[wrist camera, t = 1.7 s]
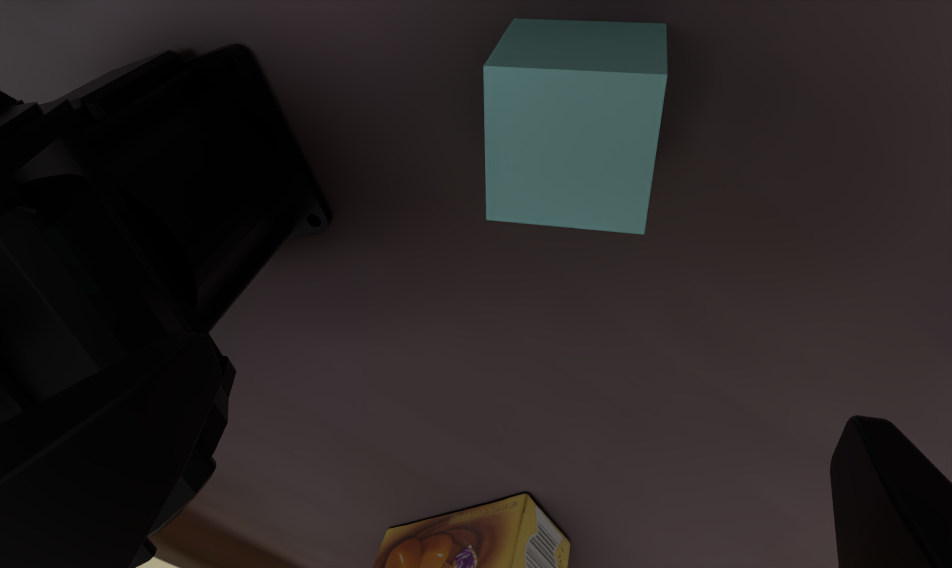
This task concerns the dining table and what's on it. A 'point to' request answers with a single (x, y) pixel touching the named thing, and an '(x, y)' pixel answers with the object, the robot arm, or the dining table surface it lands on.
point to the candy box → (478, 539)
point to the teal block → (574, 122)
